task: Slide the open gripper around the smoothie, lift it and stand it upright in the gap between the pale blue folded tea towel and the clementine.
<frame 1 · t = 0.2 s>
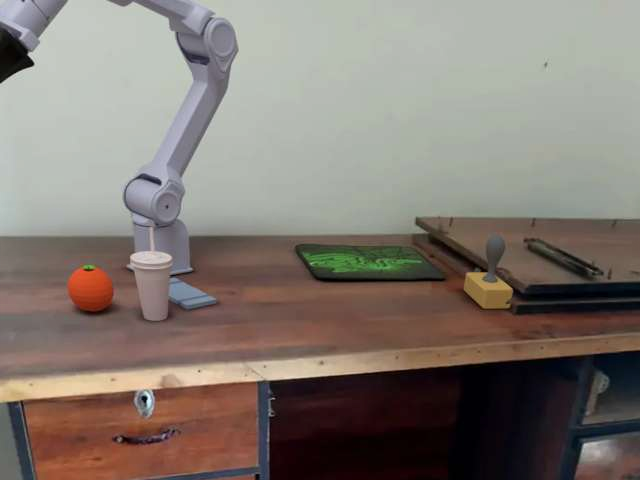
rubber stamp: (486, 300, 147), on the table
smoothie: (155, 317, 125), on the table
mouse mat: (368, 264, 159), on the table
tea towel: (180, 295, 135), on the table
clementine: (93, 310, 126), on the table
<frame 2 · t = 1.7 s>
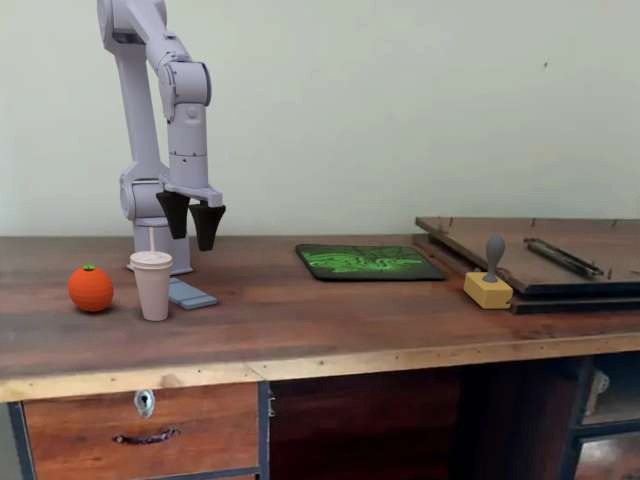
hand: (192, 244, 124), 11 cm above the table, tool pointing down, fingers open, 7 cm apart
nothing on the table moved.
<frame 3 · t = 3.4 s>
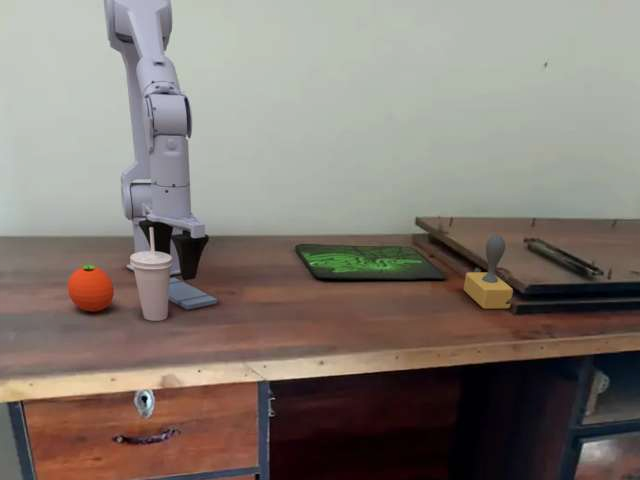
hand: (175, 272, 124), 7 cm above the table, tool pointing down, fingers open, 7 cm apart
nothing on the table moved.
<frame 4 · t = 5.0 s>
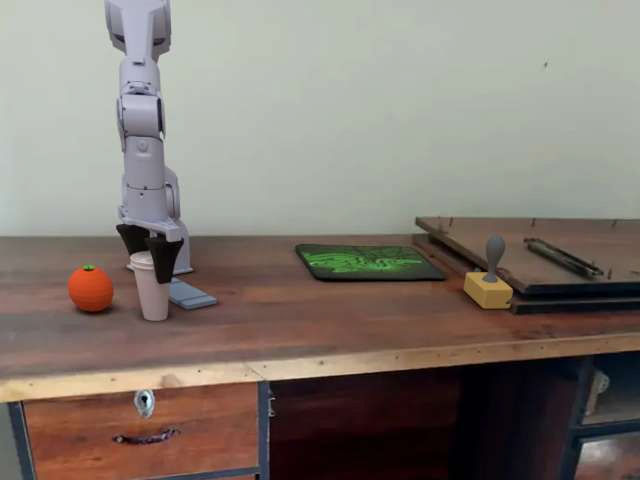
hand: (152, 276, 122), 7 cm above the table, tool pointing down, fingers closed on smoothie, 6 cm apart
smoothie: (155, 317, 125), on the table, touching gripper
everything else where it was.
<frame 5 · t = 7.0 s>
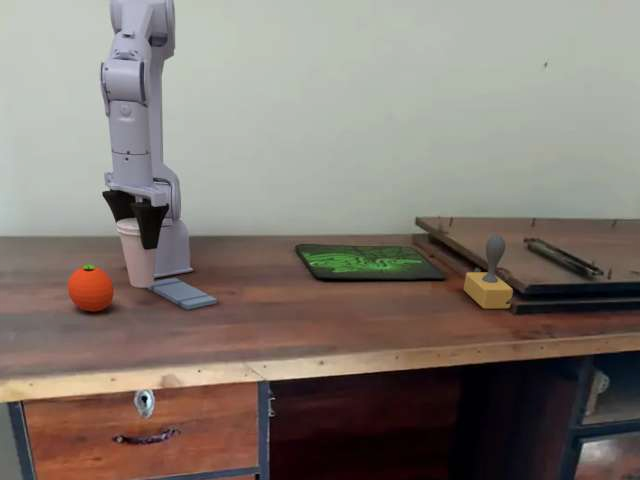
hand: (138, 243, 123), 10 cm above the table, tool pointing down, fingers closed on smoothie, 6 cm apart
smoothie: (142, 284, 127), point 4 cm above the table, touching gripper
everything else where it was.
when the fingers open (7 cm above the table, at t = 9.1 s): smoothie stays where it is, on the table.
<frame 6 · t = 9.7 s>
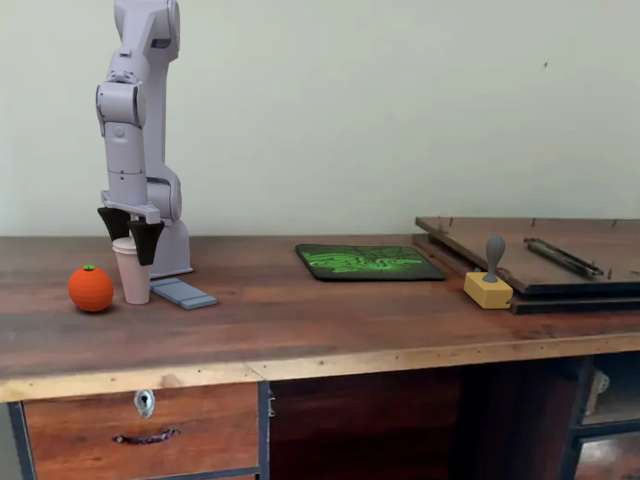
hand: (134, 258, 127), 7 cm above the table, tool pointing down, fingers open, 7 cm apart
smoothie: (137, 301, 131), on the table
everything else where it was.
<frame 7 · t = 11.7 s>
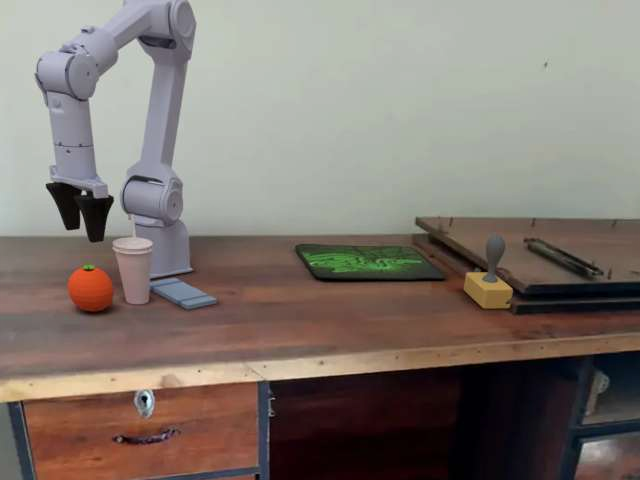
hand: (84, 235, 124), 10 cm above the table, tool pointing down, fingers open, 7 cm apart
nothing on the table moved.
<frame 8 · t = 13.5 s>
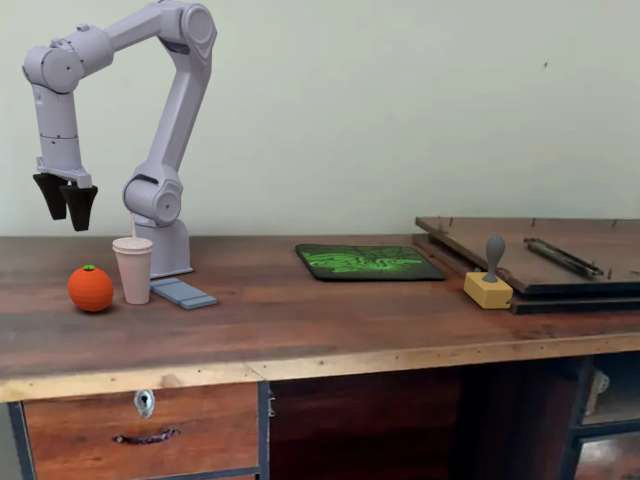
hand: (70, 224, 128), 10 cm above the table, tool pointing down, fingers open, 7 cm apart
nothing on the table moved.
at the end: smoothie 0.1 cm from the target spot, on the table; smoothie tilted 0°; clementine moved 0.2 cm from its start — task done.
